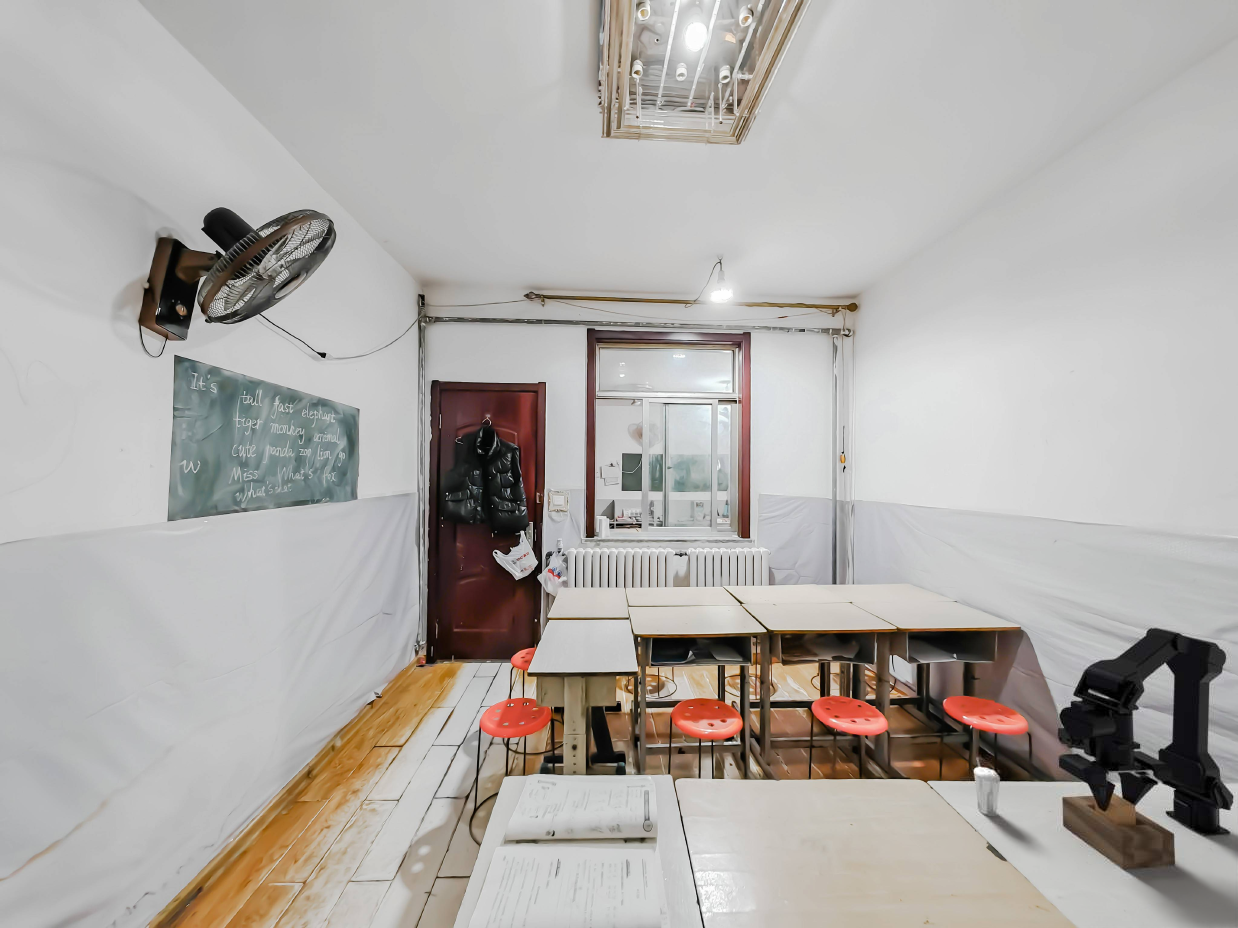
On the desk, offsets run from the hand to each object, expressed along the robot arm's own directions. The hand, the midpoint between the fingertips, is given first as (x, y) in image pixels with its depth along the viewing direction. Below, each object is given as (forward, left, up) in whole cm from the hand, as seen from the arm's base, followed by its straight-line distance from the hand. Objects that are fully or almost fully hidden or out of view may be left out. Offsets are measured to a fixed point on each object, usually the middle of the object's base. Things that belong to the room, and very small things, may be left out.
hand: (1115, 809), depth 94 cm
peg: (0, 0, -6) cm, 6 cm away
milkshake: (+18, -11, -7) cm, 22 cm away
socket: (0, 0, -7) cm, 7 cm away
